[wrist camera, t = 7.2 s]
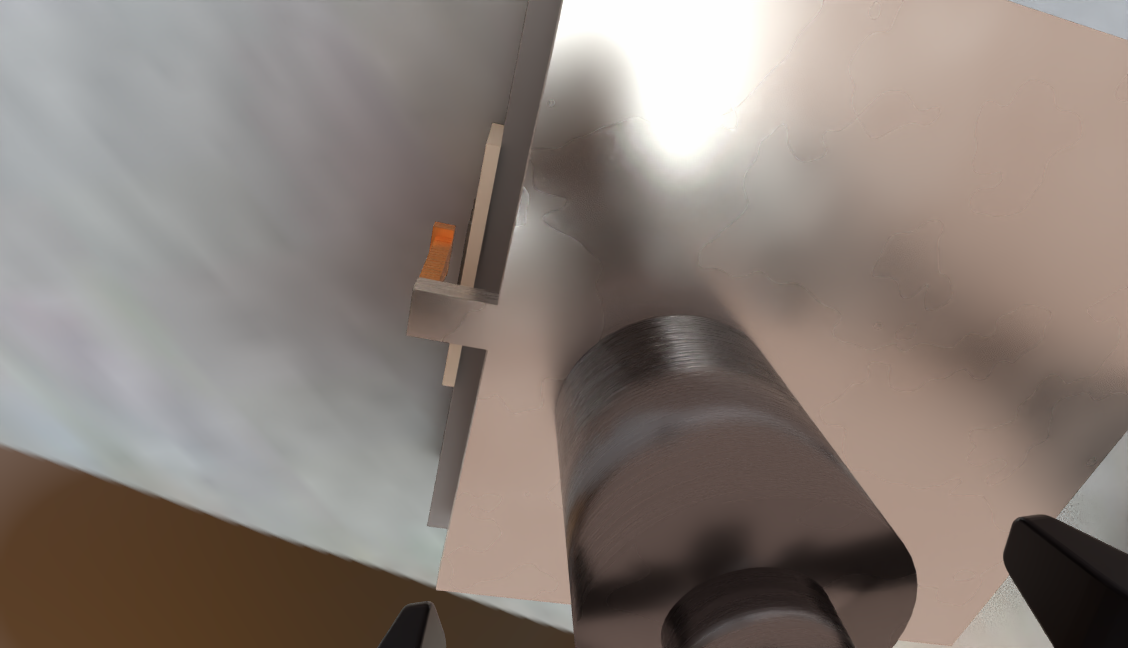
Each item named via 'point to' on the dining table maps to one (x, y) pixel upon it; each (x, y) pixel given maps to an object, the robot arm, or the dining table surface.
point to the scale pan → (817, 261)
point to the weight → (714, 504)
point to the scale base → (492, 236)
